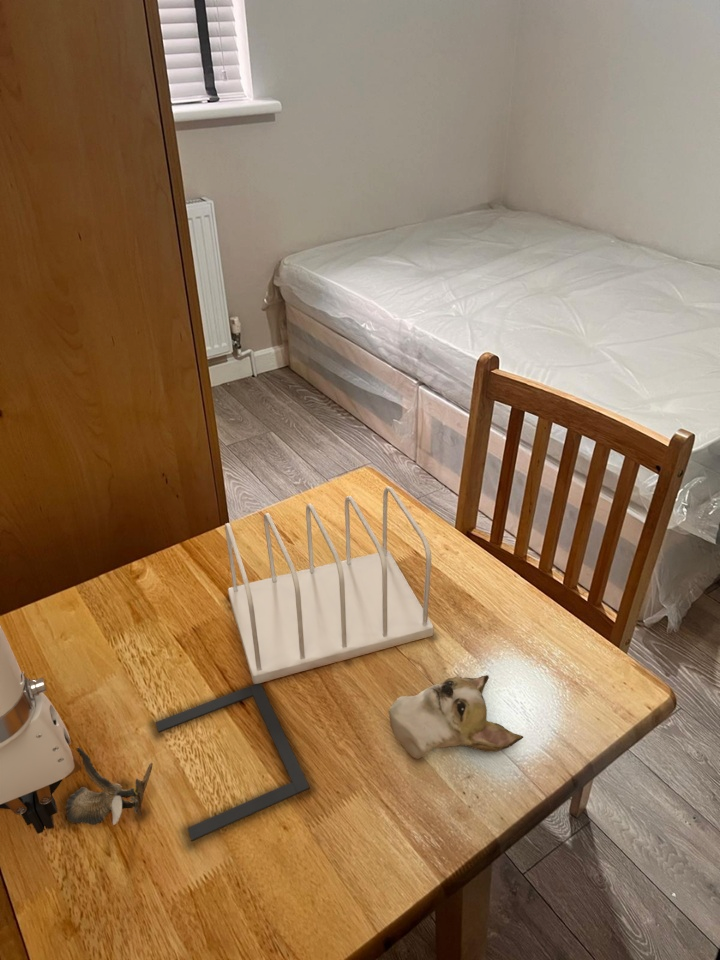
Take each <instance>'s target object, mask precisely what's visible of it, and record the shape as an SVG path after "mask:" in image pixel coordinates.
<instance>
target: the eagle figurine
mask: <svg viewBox="0 0 720 960" xmlns="http://www.w3.org/2000/svg"><path fill="white" fill-rule="evenodd" d="M76 751H77V753H79V757H80V758H81V759H82V765H83V769H84V771H85V773H86V775H87V776H88V777H89V779H90V780H91V782H93V783H94V784H95V785H96V786H97V787H98V788H99V789H101V791H102V792H100V791H99V792H97V791H93V790H90V789H88V788H87V787H85V786H81V787H80V789H77V790H75V792H74V793H73V794H70V795H69V798H68V799H67V800H66V805H65V809H66V812H65V815H66V819H67V820H68V821H69V823H72V824H88V825H91V826H97V825H98V824H102V822H104V820H105V818H106V817H107V816H108V814H110V813H111V816H112V825H113V826H115V825H117V824H118V823H119V821H120V819H121V816H122V814H123V810H125V809H128V810H129V809H133V811H134V814H138V816H139V817H141V816H142V815H143V812H142V804H143V799H144V795H145V791H146V789H147V786H148V783H149V781H150V780H149V779H150V776H151V773H152V771H153V762H150V763H149V765H148V767H147V769H146V770H145V772H144V773H145V774H144V775H143V779H142V780H140V779H139V778H136V779H135V785H134V786H135V787H134V788H133V787H132V788H129V789H124V787H123V786H122V785H121V784H119V783H114V782H111V781H109V779H107V778H106V777H103V776H102V775H101V774H100V772H98V770H97V769H96V768H95V767H94V765H93V764H94V763H92V761H91V757H90V756H89V754H87V753H86V752H85V751H84V750H83V749H82V748H81V747H76ZM123 798H126V799H129V798H130V799H129V800H125V799H123Z"/></svg>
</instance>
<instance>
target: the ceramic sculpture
mask: <svg viewBox="0 0 720 960" xmlns="http://www.w3.org/2000/svg"><path fill="white" fill-rule="evenodd" d="M489 678H490V676H489V674H488V675H487V674H485V675H481V676H478V677H466V676H465V677H462V676H454V677H452V678H451V677H450V678H447V679H446V680H444V681H442V682H441V683H436V684H432V685H430V686H429V687H427V688H425V689H423V690H422V691H421V692H419V693H416V695H401V696H398V697H397V698H396V700H395V701H394V702H393V703H392V705H391V706H390V708H389V709H388V715H389V716H388V717H389V718H388V719H389V725H390V728H391V731H392V733H393V735H394V737H395V738H396V739H397V740H398V741H399V743H400V745H401V746H402V747H403V748H404V749H405V750H406V751H407V753H408V754H409V755H410V756H411V757H412V758H413V759H416V760H417V759H421V758H423V757H425V756H426V755H427V754H428V753H429V752H430V751H431V750H433V749H441V748H445V747H457V746H465V747H467V748H472V749H475V750H477V751H481V752H488V753H492V752H493V753H494V752H500V751H502V750H506V749H508V748H509V747H512V746H514V745H515V744H517V743H518V742H519V741H521V740H522V739H524V736H523V735H521V734H518V733H514V732H512V731H511V730H509V729H507V728H505V726H504V725H501V724H499V723H497V722H493V721H488V720H487V717H488V716H487V715H488V710H487V703H486V700H485V699H484V696H483V692H484V690H485V687H486V684H487V683H488V681H489Z"/></svg>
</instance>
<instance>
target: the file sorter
mask: <svg viewBox="0 0 720 960" xmlns="http://www.w3.org/2000/svg"><path fill="white" fill-rule="evenodd" d="M389 494H390V495H391V496H392V498H393V500H394V501H395V502H396V504H397V506H398V507H399V509H400V510H401V511H402V513H403V514H404V515H405V517H406V518H407V521H409V523H410V525H411V526H412V528H413V529H414V531H415V532H416V534H417V535H418V537H419V538H420V540H421V542H422V545H423V549H424V552H425V577H424V588H423V589H424V591H423V603H422V605H423V606H422V605H421V602H420V601H419V599H418V597H417V596H416V594H415V593H414V591H413V589H412V588H411V586H410V584H409V582H408V580H407V579H406V578H405V577H406V576H404V574H403V572H402V571H401V569H400V567H399V565H398V563H397V562H396V560H395V558H394V557H393V555H392V554H391V552H390V550H388V495H389ZM350 505H351V507H352V508H353V510H354V511H355V514H356V516H357V517H358V519H359V520H360V522H361V524H362V526H363V527H364V529H365V531H366V533H367V535H368V536H369V537H370V539H371V541H372V543H373V545H374V547H375V548H376V551H377V552H375V553H370V554H368V555H363V556H357V557H354V558H352V557H351V553H352V552H351V531H350V530H351V527H350V526H351V523H350V522H351V521H350ZM311 515H312V516H313V519H314V521H315V523H316V525H317V526H318V528H319V530H320V532H321V535H322V537H323V538H324V541H325V542H326V544H327V546H328V549H329V550H330V553H331V554H332V557H333V559H334V562H332V563H327V564H323V565H319V566H315V565H314V564H315V563H314V551H313V548H314V547H313V534H312V533H313V532H312V516H311ZM305 519H306V534H307V547H308V563H309V568H306V569H302V570H298V571H297V570H296V568H295V566H294V563H293V561H292V559H291V556H290V554H289V551H288V549H287V547H286V545H285V543H284V542H283V539H282V537H281V535H280V532H279V531H278V529H277V526H276V524H275V523H274V520H273V518H272V515H271V514H270V513H269V512H265V513H264V514H263V523H264V524H263V525H264V532H265V539H266V547H267V554H268V560H269V568H270V574H271V575H270V576H271V577H267V578H264V579H259V580H255V581H251V582H249V578H248V576H247V573H246V569H245V567H244V563H243V560H242V557H241V554H240V551H239V547H238V544H237V541H236V538H235V535H234V532H233V531H234V530H233V528H232V526H231V524H230V522H227V523H226V522H225V523H224V530H225V539H226V544H227V545H226V546H227V554H228V560H229V568H230V574H231V582H232V586H231V587H229V588H227V594H228V599H229V603H230V607H231V610H232V614H233V618H234V621H235V624H236V627H237V632H238V635H239V638H240V642H241V645H242V648H243V652H244V655H245V659H246V663H247V666H248V669H249V674H250V676H251V677H250V678H251V680H252V683H253V685H254V684H259V683H261V684H262V683H264V682H269V681H272V680H276V679H279V678H284V677H286V676H290V675H294V674H297V673H301V672H305V671H308V670H312V669H316V668H320V667H323V666H327V665H330V664H331V665H332V664H334V663H338V662H342V661H345V660H349V659H354V658H356V657H360V656H363V655H368V654H371V653H375V652H378V651H381V650H382V651H383V650H385V649H386V650H387V649H389V648H393V647H396V646H400V645H404V644H407V643H411V642H416V641H418V640H422V639H425V638H426V639H427V638H430V637H432V636H434V625H433V623H432V621H431V620H430V618H429V603H430V590H431V588H430V587H431V576H432V575H431V572H432V552H431V551H432V550H431V547H430V544H429V541H428V539H427V537H426V535H425V533H424V532H423V530H422V529H421V527H420V525H419V524H418V523H417V521H416V519H415V518H414V517H413V516H412V514H411V512H410V511H409V509H408V508H407V507H406V505H405V503H404V502H403V501H402V500H401V498H400V497H399V495H398V493H397V492H396V491H395V489H394V488H393V487H392V486H386V487H384V488H383V495H382V545H381V543H380V541H379V540H378V538H377V536H376V534H375V533H374V531H373V529H372V528H371V526H370V524H369V522H368V521H367V520H366V517H365V516H364V514H363V512H362V510H361V509H360V507H359V505H358V504H357V502H356V500H355V499H354V498H353V496H352V495H347V496H345V498H344V520H345V522H344V524H345V547H346V548H345V551H346V552H345V553H346V554H345V555H346V559H345V560H341V558H340V556H339V553H338V551H337V549H336V548H335V545H334V544H333V542H332V539H331V538H330V536H329V535H330V534H329V533H328V532H327V530H326V528H325V526H324V524H323V522H322V520H321V518H320V516H319V514H318V512H317V510H316V508H315V506H314V505H313V504H312V503H307V504H306V507H305ZM270 529H271V530H270ZM271 531H272V533H273V535H274V537H275V540H276V542H277V544H278V546H279V548H280V551H281V553H282V555H283V557H284V560H285V562H286V563H287V566H288V569H289V571H290V572H288V573H284V574H280V575H276V570H275V569H276V568H275V561H274V554H273V548H272V538H271ZM233 553H234V554H233ZM234 556H235V560H236V563H237V566H238V569H239V572H240V576H241V579H242V582H243V584H239V585H238V584H237V583H238V582H237V575H236V574H237V573H236V567H235V560H234ZM314 566H315V567H314Z"/></svg>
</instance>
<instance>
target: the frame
mask: <svg viewBox="0 0 720 960" xmlns="http://www.w3.org/2000/svg"><path fill="white" fill-rule="evenodd" d="M252 697H253V699H254V701H255V704H256V707H257V709H258V711H259V713H260V715H261V717H262V720H263V722H264V724H265V726H266V728H267V730H268V733H269V735H270V737H271V739H272V741H273V744H274V746H275V748H276V750H277V753H278V755H279V757H280V759H281V761H282V764H283V766H284V768H285V770H286V772H287V774H288V777H289V779H290V781H291V782H289V783H287V784H284V785H281V786H279V787H277V788H275V789H273V790H270V791H268V792H266V793H264V794H262V795H258V796H257V797H255V798H252V799H250V800H248V801H245V802H243V803H241V804H238V805H236V806H234V807H232V808H230V809H228V810H225V811H223V812H220V813H218V814H215V815H214V816H211V817H209V818H208V819H205V820H203V821H200V822H198V823H195V824H193V825H191V826H189V827H187V831H188V834H189V837H190V841H191V842H193V841H196V840H198V839H201V838H203V837H206V836H207V835H210V834H211V833H214V832H216V831H219V830H220V829H222V828H223V829H224V828H225V827H227V826H230V825H232V824H234V823H237V822H238V821H241V820H243V819H245V818H247V817H250V816H252V815H254V814H257V813H258V812H260V811H263V810H265V809H268V808H270V807H272V806H274V805H276V804H279V803H281V802H283V801H286V800H288V799H290V798H292V797H295V796H297V795H299V794H301V793H303V792H305V791H308V790H310V785H309V783H308V780H307V779H306V777H305V774H304V772H303V770H302V768H301V766H300V763H299V761H298V759H297V757H296V755H295V753H294V751H293V749H292V747H291V745H290V743H289V741H288V739H287V736H286V734H285V731H284V730H283V728H282V725H281V724H280V721H279V719H278V716H277V714H276V713H275V711H274V709H273V706H272V705H271V702H270V700H269V698H268V696H267V694H266V691H265V689H264V687H263V685H262V683H259V684H254V683H253V684H252V685H249V686H245V687H244V688H242V689H241V688H240V689H238V690H235V691H233V692H231V693H227V694H226V695H223V696H220V697H217V698H215V699H212V700H209V701H207V702H205V703H202V704H199V705H197V706H194V707H191V708H189V709H185V710H183V711H181V712H179V713H176V714H172V715H171V716H168V717H165V718H163V719H160V720H157V721H155V726H156V729H157V732H158V734H159V733H163V732H165V731H167V730H169V729H173V728H176V727H177V726H180V725H183V724H185V723H189V722H190V721H193V720H195V719H199V718H201V717H203V716H205V715H206V716H207V715H208V714H211V713H214V712H216V711H219V710H221V709H224V708H226V707H229V706H231V705H234V704H236V703H239V702H241V701H244V700H247V699H250V698H252Z"/></svg>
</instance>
